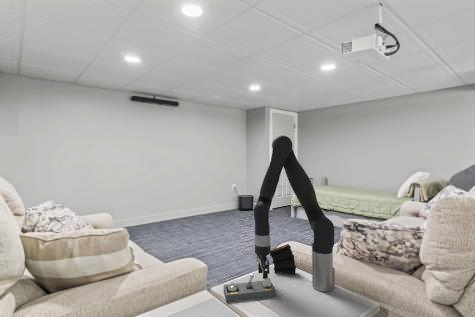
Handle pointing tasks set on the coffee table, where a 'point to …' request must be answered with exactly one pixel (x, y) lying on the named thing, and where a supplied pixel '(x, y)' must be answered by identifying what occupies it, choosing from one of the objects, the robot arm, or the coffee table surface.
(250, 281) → the toggle
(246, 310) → the coffee table surface
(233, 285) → the button
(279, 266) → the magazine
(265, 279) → the slider
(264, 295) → the panel
